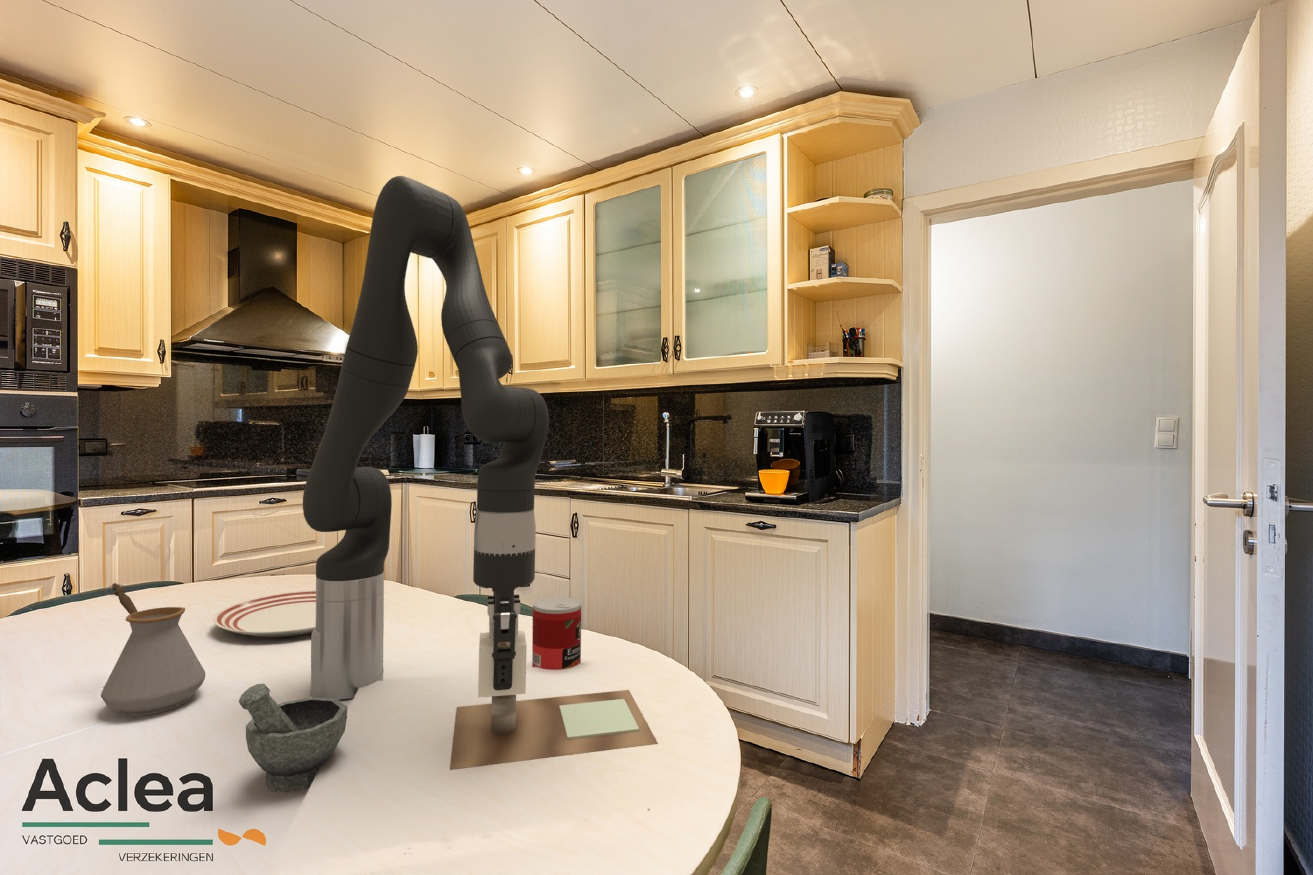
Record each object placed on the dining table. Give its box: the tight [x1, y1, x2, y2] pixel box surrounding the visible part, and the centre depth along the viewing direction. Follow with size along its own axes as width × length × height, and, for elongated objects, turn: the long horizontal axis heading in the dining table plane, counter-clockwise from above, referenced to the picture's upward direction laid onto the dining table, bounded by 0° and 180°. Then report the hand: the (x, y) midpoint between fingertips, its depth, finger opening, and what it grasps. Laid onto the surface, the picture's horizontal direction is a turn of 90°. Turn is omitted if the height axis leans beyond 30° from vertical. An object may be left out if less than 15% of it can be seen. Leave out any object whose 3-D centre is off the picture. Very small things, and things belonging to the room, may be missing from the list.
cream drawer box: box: [477, 630, 528, 698], centre depth 78 cm, size 6×6×6 cm
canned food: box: [531, 596, 582, 671], centre depth 102 cm, size 8×8×11 cm
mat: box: [559, 699, 639, 740], centre depth 81 cm, size 9×9×1 cm
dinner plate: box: [212, 589, 316, 638], centre depth 125 cm, size 27×27×3 cm
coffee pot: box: [100, 582, 206, 717], centre depth 90 cm, size 21×12×15 cm, turn 58°
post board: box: [449, 689, 659, 771], centre depth 80 cm, size 24×16×6 cm, turn 105°
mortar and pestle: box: [238, 683, 348, 793], centre depth 69 cm, size 11×9×12 cm
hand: (502, 678), depth 78 cm, fingers closed on cream drawer box, 5 cm apart
